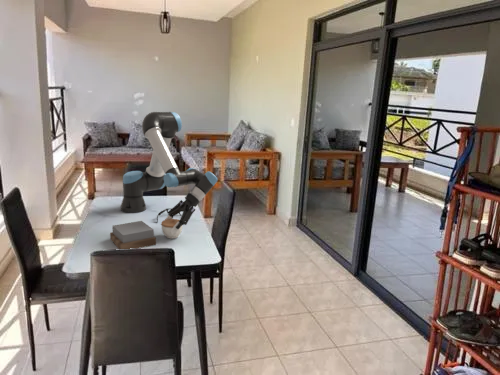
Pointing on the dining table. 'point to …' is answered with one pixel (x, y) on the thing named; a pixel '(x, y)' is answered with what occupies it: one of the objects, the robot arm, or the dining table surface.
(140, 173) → the robot arm
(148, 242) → the walnut block
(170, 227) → the lidded jar
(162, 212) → the glasses
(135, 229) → the charcoal grey block
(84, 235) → the dining table surface
